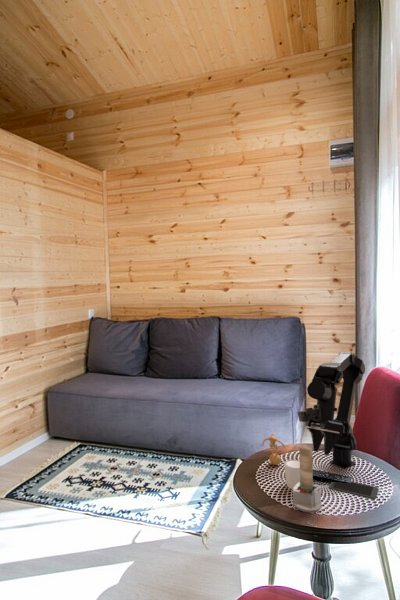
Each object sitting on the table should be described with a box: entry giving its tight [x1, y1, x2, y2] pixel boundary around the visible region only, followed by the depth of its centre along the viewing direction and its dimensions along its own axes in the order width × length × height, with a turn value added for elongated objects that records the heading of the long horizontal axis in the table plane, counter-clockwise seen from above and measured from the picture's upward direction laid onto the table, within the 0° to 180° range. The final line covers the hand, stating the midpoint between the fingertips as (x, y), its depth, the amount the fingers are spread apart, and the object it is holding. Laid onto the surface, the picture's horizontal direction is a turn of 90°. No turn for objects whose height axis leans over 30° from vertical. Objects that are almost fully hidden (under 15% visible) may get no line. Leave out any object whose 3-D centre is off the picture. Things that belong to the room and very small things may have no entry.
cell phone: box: [328, 481, 380, 500], centre depth 128 cm, size 7×14×1 cm, turn 58°
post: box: [298, 445, 314, 492], centre depth 119 cm, size 4×4×12 cm
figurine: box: [261, 433, 286, 466], centre depth 146 cm, size 8×6×12 cm
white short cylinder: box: [283, 459, 300, 490], centre depth 132 cm, size 7×7×7 cm
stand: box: [292, 482, 322, 513], centre depth 120 cm, size 8×8×5 cm
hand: (320, 453), depth 129 cm, fingers open, 9 cm apart
